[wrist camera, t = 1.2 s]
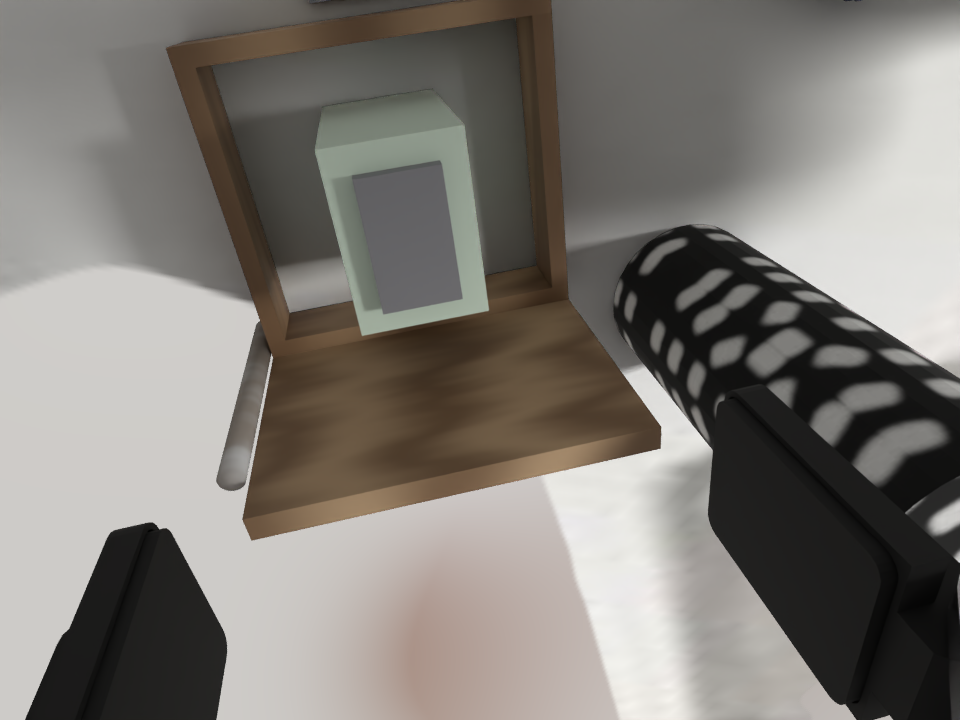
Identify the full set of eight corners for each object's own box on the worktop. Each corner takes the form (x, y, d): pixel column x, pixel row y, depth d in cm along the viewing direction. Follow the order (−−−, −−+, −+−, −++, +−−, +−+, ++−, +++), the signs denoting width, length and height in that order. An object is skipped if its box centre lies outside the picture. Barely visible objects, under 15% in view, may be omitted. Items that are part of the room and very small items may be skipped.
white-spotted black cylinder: (770, 229, 36) (1158, 448, 19) (723, 358, 40) (1008, 635, 23) (633, 219, 34) (925, 451, 17) (599, 355, 38) (807, 654, 21)
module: (432, 88, 29) (467, 127, 21) (454, 235, 32) (492, 317, 24) (322, 107, 28) (313, 154, 20) (357, 253, 32) (362, 343, 24)
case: (531, -11, 28) (673, -11, 16) (553, 292, 35) (660, 448, 23) (155, 46, 26) (-3, 94, 14) (263, 350, 34) (219, 547, 22)
